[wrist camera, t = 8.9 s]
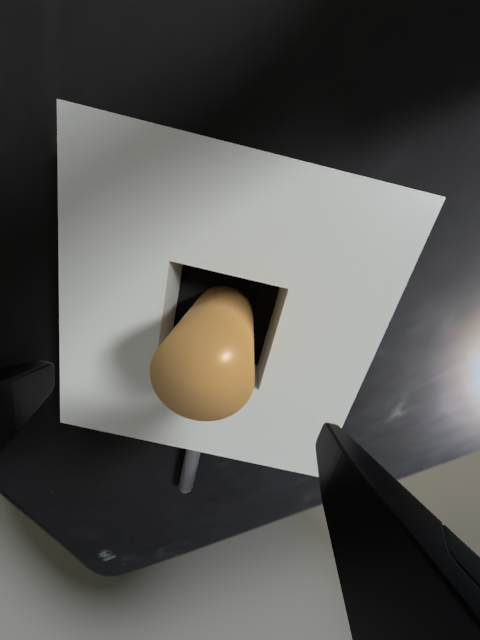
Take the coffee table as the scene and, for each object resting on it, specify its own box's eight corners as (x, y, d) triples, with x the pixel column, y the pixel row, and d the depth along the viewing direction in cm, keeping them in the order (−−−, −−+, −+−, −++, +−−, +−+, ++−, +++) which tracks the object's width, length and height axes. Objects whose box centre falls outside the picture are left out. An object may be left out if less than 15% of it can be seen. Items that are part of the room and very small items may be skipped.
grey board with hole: (407, 204, 14) (446, 197, 12) (285, 503, 23) (290, 542, 20) (96, 126, 14) (56, 98, 11) (85, 462, 22) (61, 495, 19)
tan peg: (259, 293, 17) (266, 343, 9) (245, 347, 18) (241, 430, 10) (200, 279, 16) (156, 317, 9) (190, 334, 18) (144, 409, 10)
